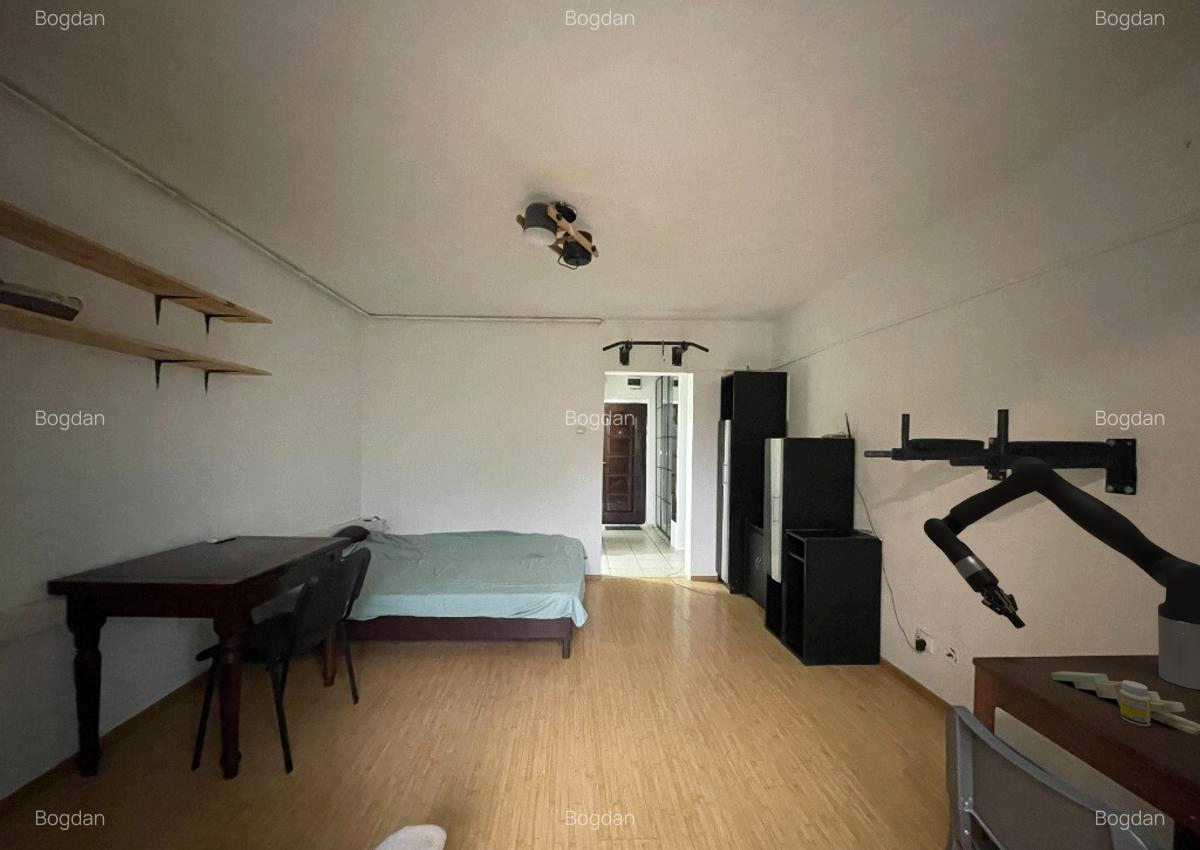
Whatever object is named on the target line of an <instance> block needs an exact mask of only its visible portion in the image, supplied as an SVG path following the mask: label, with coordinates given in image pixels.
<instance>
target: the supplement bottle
mask: <svg viewBox="0 0 1200 850" xmlns="http://www.w3.org/2000/svg"><path fill="white" fill-rule="evenodd" d="M1121 682H1122V688H1123V689H1121V690H1120V706H1119V707H1120V717H1121V719H1122V720H1124V721H1126V722H1128V723H1130V724H1133V725H1137V726H1139V727H1150V726H1151V725H1152V720H1151V719H1152V718H1151V710H1150V697H1149V696H1148V695H1147V694H1148V691H1149V690H1148V689H1149V688H1148V687H1147V686H1146V685H1144V684H1142V683H1140V682H1136V681H1133V680H1122V681H1121Z"/></svg>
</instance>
